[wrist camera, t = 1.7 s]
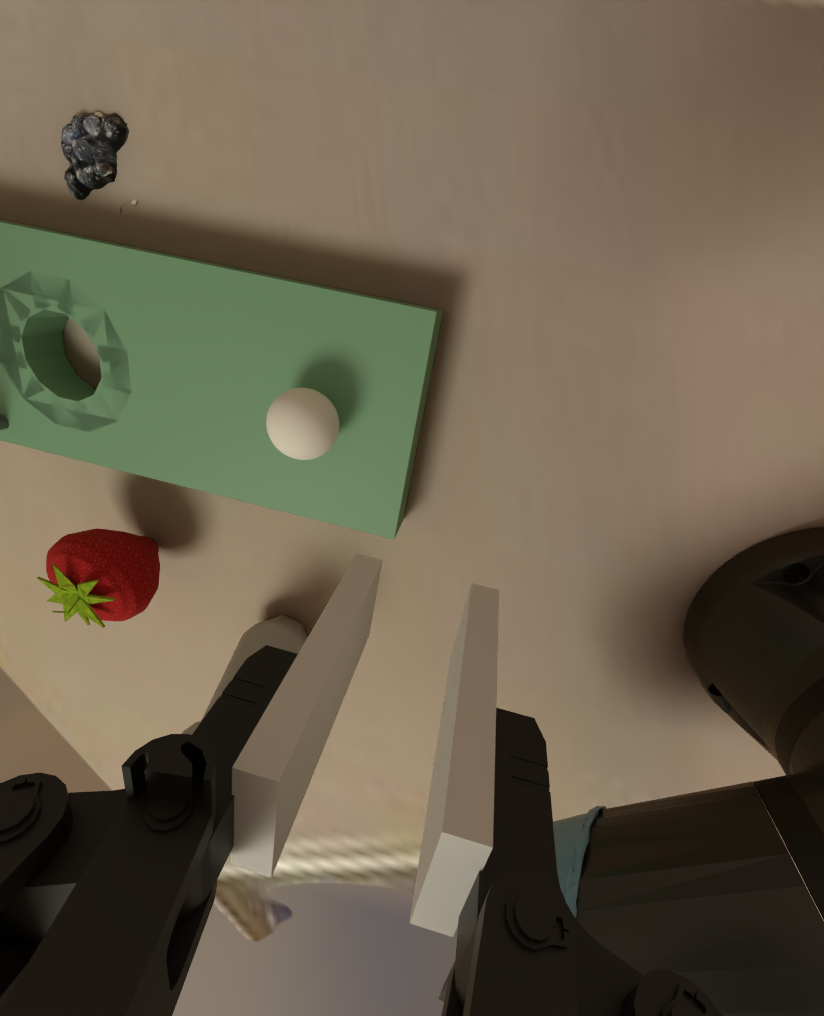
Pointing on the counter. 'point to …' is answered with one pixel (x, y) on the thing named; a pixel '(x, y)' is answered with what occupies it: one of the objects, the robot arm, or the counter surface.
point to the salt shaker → (268, 632)
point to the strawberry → (103, 574)
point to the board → (212, 374)
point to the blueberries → (92, 151)
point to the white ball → (302, 423)
